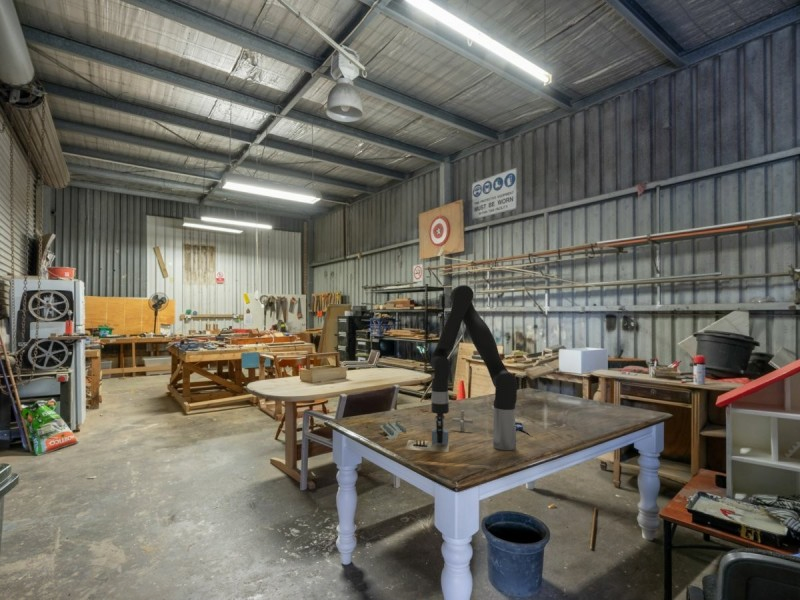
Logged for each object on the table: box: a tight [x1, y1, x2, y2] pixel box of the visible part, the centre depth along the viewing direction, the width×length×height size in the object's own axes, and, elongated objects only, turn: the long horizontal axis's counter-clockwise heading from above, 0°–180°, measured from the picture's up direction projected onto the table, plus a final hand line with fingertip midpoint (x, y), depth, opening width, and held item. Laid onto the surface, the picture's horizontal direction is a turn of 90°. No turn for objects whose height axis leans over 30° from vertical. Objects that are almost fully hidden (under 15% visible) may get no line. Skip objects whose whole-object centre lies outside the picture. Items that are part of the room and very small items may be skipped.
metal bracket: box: [379, 420, 408, 440], centre depth 192 cm, size 14×6×15 cm
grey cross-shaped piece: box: [451, 410, 474, 432], centre depth 199 cm, size 10×10×10 cm
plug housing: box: [431, 428, 449, 444], centre depth 172 cm, size 7×4×5 cm, turn 82°
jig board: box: [404, 439, 450, 453], centre depth 171 cm, size 18×13×4 cm
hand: (440, 440), depth 172 cm, fingers closed on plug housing, 4 cm apart
